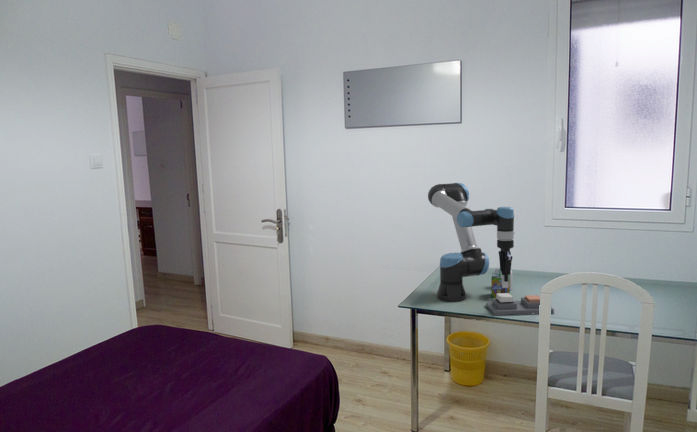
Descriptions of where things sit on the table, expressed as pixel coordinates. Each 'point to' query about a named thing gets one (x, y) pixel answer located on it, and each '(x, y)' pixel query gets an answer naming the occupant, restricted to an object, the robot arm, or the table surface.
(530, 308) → the key panel
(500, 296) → the white key
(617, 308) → the table surface
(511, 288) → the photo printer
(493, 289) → the chalk box
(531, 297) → the terracotta key
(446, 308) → the table surface
